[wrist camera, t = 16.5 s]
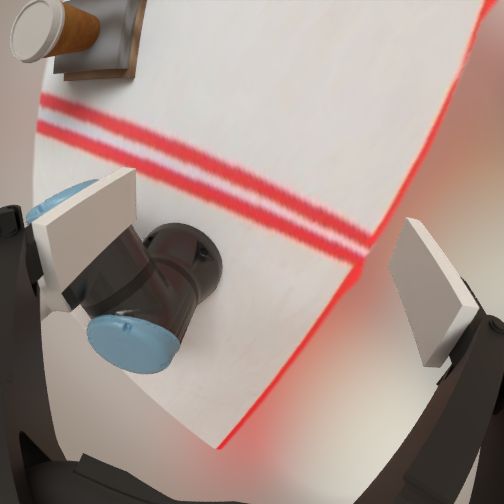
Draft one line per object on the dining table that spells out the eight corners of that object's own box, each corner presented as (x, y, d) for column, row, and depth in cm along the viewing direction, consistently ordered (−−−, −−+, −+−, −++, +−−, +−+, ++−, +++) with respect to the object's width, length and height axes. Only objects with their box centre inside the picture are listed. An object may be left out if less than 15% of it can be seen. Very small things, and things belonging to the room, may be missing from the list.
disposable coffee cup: (69, 72, 35) (14, 77, 25) (57, 27, 31) (3, 24, 21) (116, 40, 33) (62, 34, 22) (101, -6, 29) (49, -20, 18)
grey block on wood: (134, 77, 40) (118, 77, 36) (69, 80, 41) (50, 82, 36) (149, -13, 32) (134, -21, 27) (80, -2, 32) (63, -5, 28)
